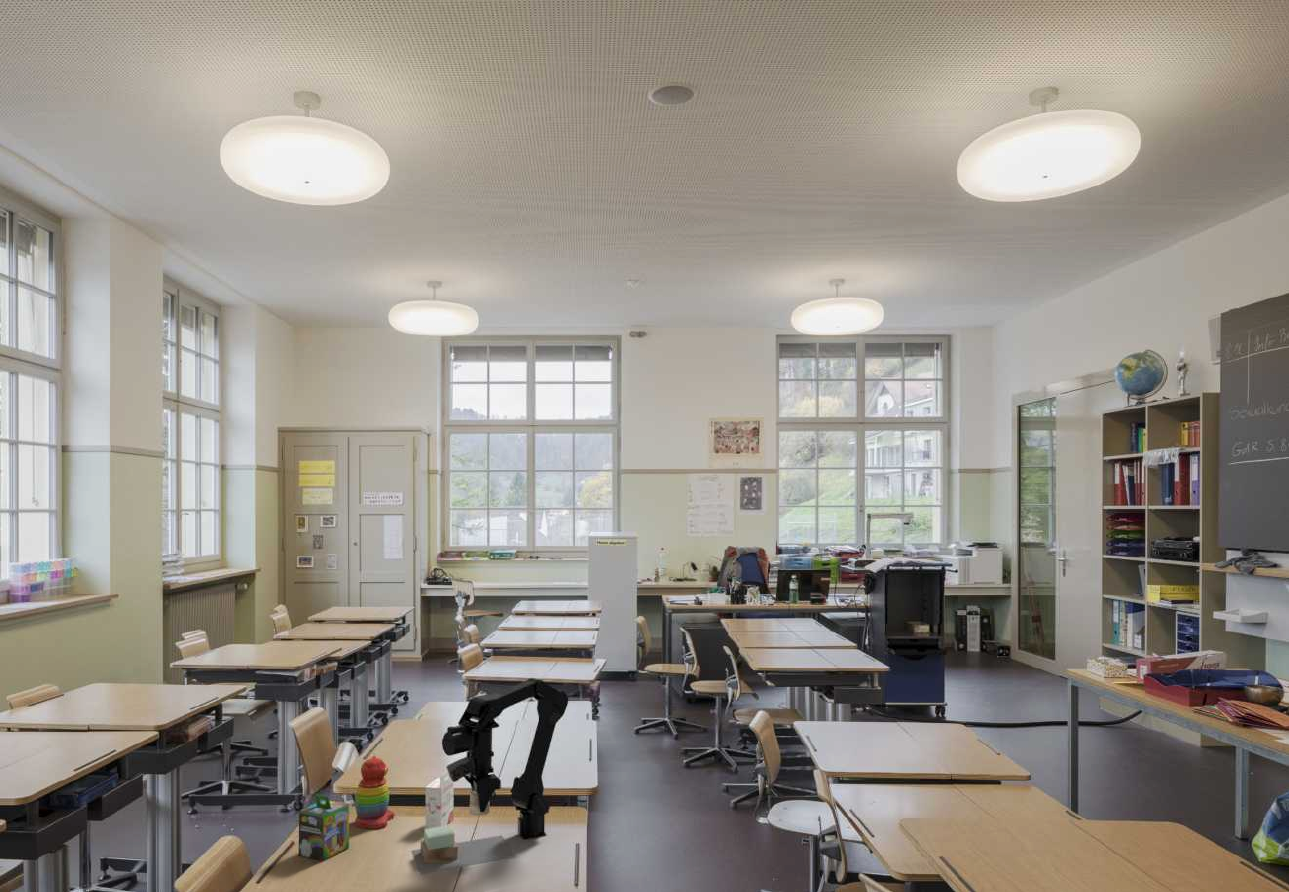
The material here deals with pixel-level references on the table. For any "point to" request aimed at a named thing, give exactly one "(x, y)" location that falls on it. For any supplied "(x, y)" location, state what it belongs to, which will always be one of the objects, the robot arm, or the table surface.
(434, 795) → the ink cartridge box
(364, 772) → the stacking bear
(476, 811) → the maple cylinder
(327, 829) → the chalk box
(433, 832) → the sage top block
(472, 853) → the rubber mat
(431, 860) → the walnut base block
